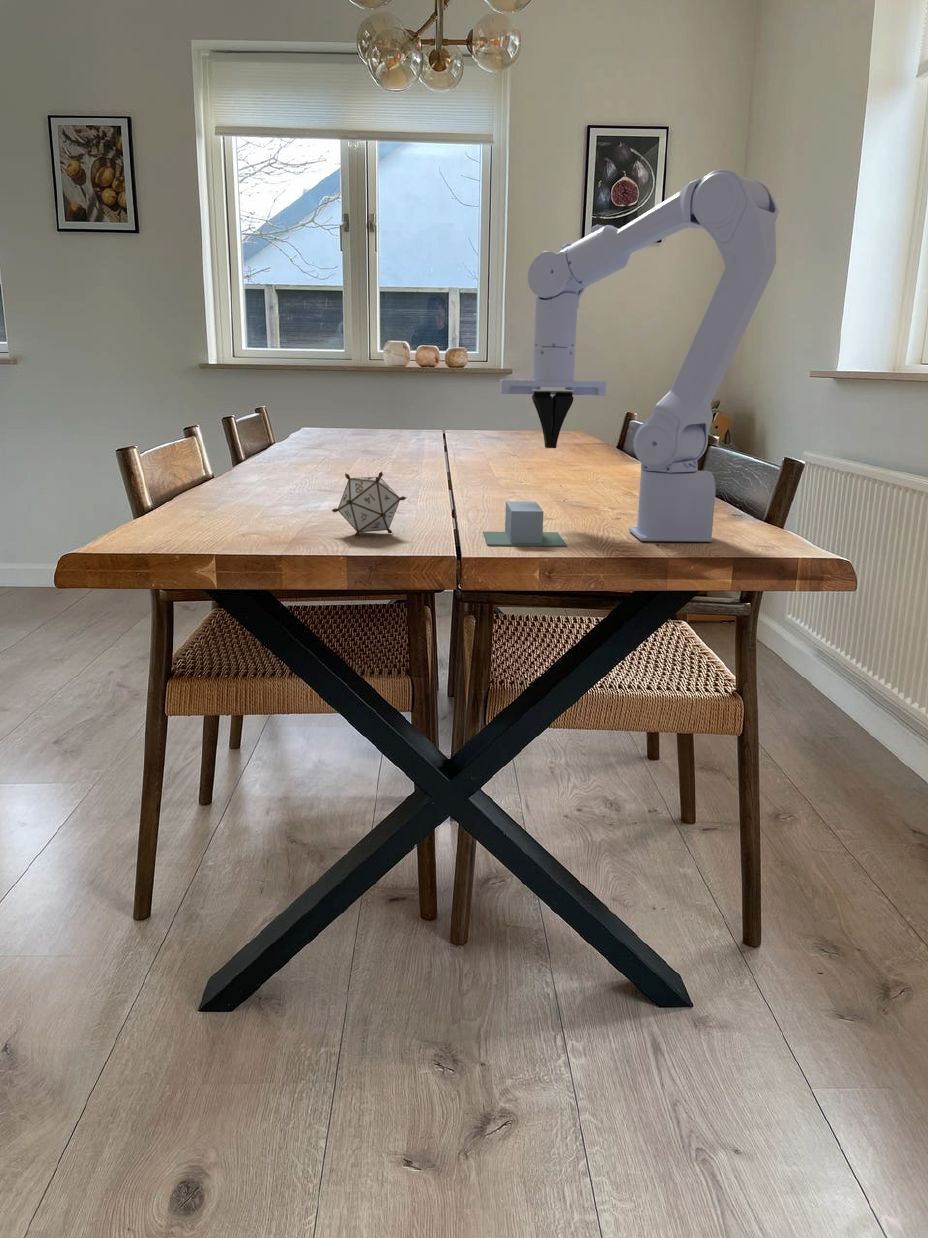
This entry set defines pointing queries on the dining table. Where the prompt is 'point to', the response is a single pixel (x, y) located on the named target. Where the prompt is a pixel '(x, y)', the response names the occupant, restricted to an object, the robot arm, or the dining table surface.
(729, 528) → the dining table surface
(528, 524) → the slate-blue block
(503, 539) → the felt mat
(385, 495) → the game die
